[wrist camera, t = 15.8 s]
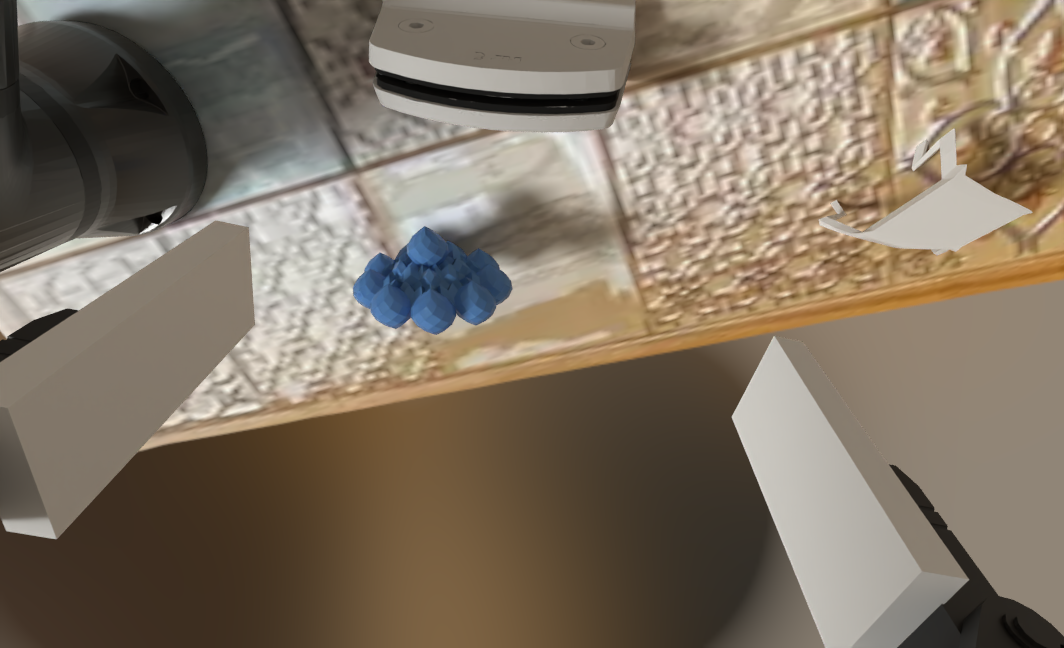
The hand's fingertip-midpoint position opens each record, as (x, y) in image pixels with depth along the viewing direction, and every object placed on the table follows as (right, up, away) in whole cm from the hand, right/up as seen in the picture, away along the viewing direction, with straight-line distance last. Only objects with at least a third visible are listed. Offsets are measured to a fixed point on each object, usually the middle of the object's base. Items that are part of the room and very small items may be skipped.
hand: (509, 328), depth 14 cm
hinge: (-1, +19, +24) cm, 31 cm away
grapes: (-6, +7, +31) cm, 32 cm away
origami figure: (+27, +10, +27) cm, 39 cm away
